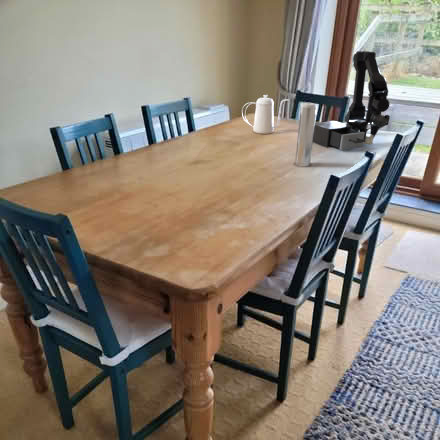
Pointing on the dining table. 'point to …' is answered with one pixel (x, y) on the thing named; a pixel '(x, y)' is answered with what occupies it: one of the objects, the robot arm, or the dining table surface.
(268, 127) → the coffeepot
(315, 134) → the grey sliding drawer unit
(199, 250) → the dining table surface
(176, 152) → the dining table surface
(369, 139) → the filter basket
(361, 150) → the dining table surface
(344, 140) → the drawer
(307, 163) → the silver metal cylinder
